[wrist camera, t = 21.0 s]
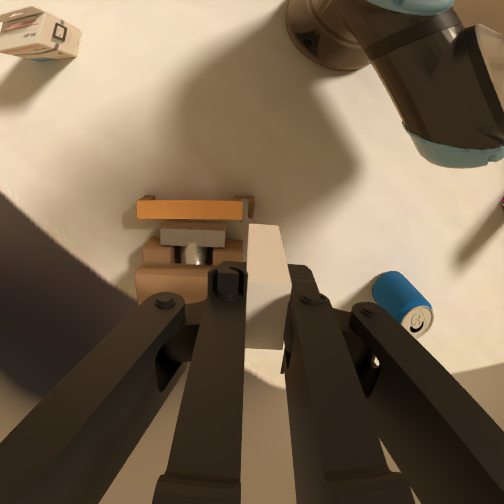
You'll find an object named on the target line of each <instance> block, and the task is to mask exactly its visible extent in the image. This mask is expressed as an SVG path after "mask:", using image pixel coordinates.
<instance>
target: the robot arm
mask: <svg viewBox="0 0 504 504" xmlns="http://www.w3.org/2000/svg"><path fill="white" fill-rule="evenodd" d="M454 1H455V0H291V1H290V3H289V6H288V9H287V13H286V25H287V30H288V33H289V35H290V38H291V39H292V41H293V43H294V44H295V46H296V47H297V48H298V49H299V50H300V51H301V52H302V53H303V54H304V55H305V56H306V57H307V58H309V59H310V60H312V61H313V62H315V63H317V64H319V65H321V66H324V67H326V68H330V69H334V70H341V71H349V70H356V69H360V68H362V67H365V66H367V65H369V64H372V66H373V67H374V69H375V71H376V72H377V74H378V76H379V78H380V79H381V81H382V83H383V85H384V86H385V88H386V90H387V92H388V94H389V96H390V97H391V99H392V101H393V103H394V105H395V107H396V109H397V111H398V113H399V115H400V117H401V119H402V124H403V127H404V129H405V130H406V131H407V133H408V134H409V135H410V137H411V139H412V140H413V142H414V144H415V146H416V148H417V150H418V152H419V153H420V155H421V156H422V157H424V158H425V159H426V160H428V161H429V162H430V163H433V164H435V165H438V166H441V167H446V168H460V169H464V168H475V167H481V166H485V165H487V164H488V162H497V161H499V160H501V159H503V158H504V33H497V32H495V31H493V30H491V29H489V28H487V27H485V26H483V25H481V24H477V25H474V26H471V27H468V28H465V27H464V26H463V24H462V22H461V21H460V19H459V17H458V15H457V14H456V12H455V10H454V9H453V7H452V5H453V3H454ZM283 343H284V344H285V349H284V355H283V361H282V367H281V373H280V374H284V373H285V382H286V392H287V402H288V412H289V422H290V434H291V444H292V455H293V466H294V477H295V489H296V501H297V504H415V501H414V498H413V495H412V492H411V488H412V490H413V491H414V493H415V494H416V496H417V498H418V499H419V501H420V502H421V504H504V432H503V430H502V429H501V428H500V427H499V426H498V425H497V424H496V423H495V421H494V420H493V419H492V418H491V417H490V416H489V415H488V414H487V413H486V412H485V411H484V410H483V408H482V407H481V406H480V405H479V404H478V403H477V402H476V401H475V400H474V399H473V398H472V396H471V395H470V394H469V393H468V392H467V391H466V390H465V389H464V388H463V387H462V386H461V385H460V384H459V383H458V382H457V381H456V380H455V379H454V377H453V376H452V375H451V374H450V373H449V372H448V371H447V370H446V369H445V368H444V367H443V366H442V365H441V364H440V363H439V362H438V361H437V360H436V359H435V358H434V357H433V356H432V355H431V354H430V353H429V352H428V351H427V350H426V349H425V348H424V347H423V346H422V345H421V344H420V343H419V342H418V341H417V340H416V339H415V338H414V337H413V336H412V335H411V334H410V333H409V332H408V331H407V330H406V329H405V328H404V327H403V326H402V325H401V324H400V323H399V322H398V321H397V320H396V319H395V318H394V317H393V316H392V315H391V314H390V313H389V312H388V311H387V310H385V309H384V308H383V307H381V306H379V305H377V304H375V303H371V302H360V303H357V304H355V305H354V306H353V307H352V311H351V312H346V311H341V310H338V309H335V308H332V305H331V303H330V300H329V299H328V298H327V297H326V296H324V295H323V294H321V293H319V290H318V287H317V285H316V282H315V279H314V277H313V274H312V271H311V270H310V269H309V268H308V267H306V266H305V265H295V264H287V261H286V257H285V252H284V248H283V244H282V239H281V235H280V231H279V226H278V225H264V224H249V232H248V247H247V262H234V261H223V262H222V263H220V264H219V265H218V266H215V267H213V268H211V269H210V270H209V271H208V290H207V298H206V299H205V300H203V301H200V302H196V303H189V304H185V301H184V298H183V297H182V296H180V295H179V294H176V293H171V292H159V293H156V294H153V295H151V296H149V297H148V298H147V299H146V300H144V301H143V302H142V303H141V304H140V305H139V306H138V307H137V308H136V309H135V310H134V311H133V312H132V313H131V314H129V316H127V317H126V318H125V319H124V320H123V321H122V322H121V323H120V324H119V325H118V326H117V327H116V328H115V329H114V330H113V331H111V332H110V333H109V334H108V335H107V336H106V337H105V338H104V339H103V340H102V341H101V342H100V343H99V344H98V345H97V346H96V347H95V348H94V349H93V350H92V351H91V352H90V353H89V354H88V355H87V356H86V357H84V358H83V360H81V361H80V363H78V364H77V365H76V366H75V367H74V368H73V369H72V370H71V371H70V372H69V373H68V374H67V375H66V376H65V377H64V378H63V379H62V380H61V381H60V383H58V384H57V385H56V386H55V387H54V388H53V389H52V390H51V391H50V392H49V393H48V394H47V395H46V396H45V397H44V398H43V399H42V400H41V401H40V402H39V403H38V404H37V405H36V406H35V407H34V409H32V411H30V413H29V414H28V415H27V416H26V417H25V418H24V419H23V420H22V421H21V422H20V423H19V424H18V425H17V426H16V427H15V428H14V429H13V430H12V431H11V432H10V433H9V434H8V436H7V437H6V438H5V439H4V440H3V441H2V442H1V443H0V504H98V503H99V502H100V500H101V499H102V497H103V496H104V494H105V493H106V491H107V490H108V488H109V486H110V485H111V483H112V482H113V480H114V479H115V477H116V475H117V474H118V473H119V471H120V470H121V468H122V467H123V465H124V464H125V462H126V461H127V459H128V457H129V456H130V454H131V453H132V451H133V450H134V448H135V447H136V445H137V444H138V442H139V441H140V439H141V437H142V436H143V434H144V433H145V431H146V430H147V428H148V427H149V425H150V424H151V422H152V421H153V419H154V417H155V416H156V414H157V413H158V411H159V410H160V408H161V406H162V405H163V404H164V402H165V400H166V399H167V397H168V396H169V394H170V393H171V391H172V389H173V388H174V386H175V385H176V383H177V382H178V380H179V379H180V377H181V375H182V374H183V372H184V371H185V369H186V367H187V365H188V362H189V361H191V363H190V367H189V371H188V375H187V380H186V384H185V388H184V392H183V397H182V401H181V406H180V410H179V415H178V419H177V423H176V428H175V433H174V437H173V442H172V447H171V451H170V456H169V461H168V465H167V469H166V472H165V474H163V475H160V477H159V479H158V481H157V484H156V488H155V491H154V496H153V501H152V504H241V503H240V502H241V482H240V472H241V442H242V413H243V412H242V411H243V383H244V356H245V348H253V349H274V350H282V349H283ZM375 357H377V359H378V361H379V363H380V364H379V366H377V365H376V364H375V363H374V360H375ZM379 438H380V440H381V441H382V443H383V445H384V446H385V448H386V449H387V451H388V452H389V454H390V455H391V457H392V459H393V460H394V462H395V463H396V465H397V466H398V468H399V470H400V471H401V473H400V472H391V470H389V468H388V466H387V463H386V459H385V456H384V453H383V450H382V447H381V444H380V440H379ZM410 487H411V488H410Z"/></svg>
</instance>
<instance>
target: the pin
mask: <svg viewBox="0 0 504 504" xmlns="http://www.w3.org/2000/svg"><path fill="white" fill-rule="evenodd" d="M225 241H226V223H207V222H175V221H166V222H165V223H164V224H163V226H162V227H161V228H160V243H161V245H172V246H180V254H181V264H199V265H208V247H222V248H224V247H225Z"/></svg>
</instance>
